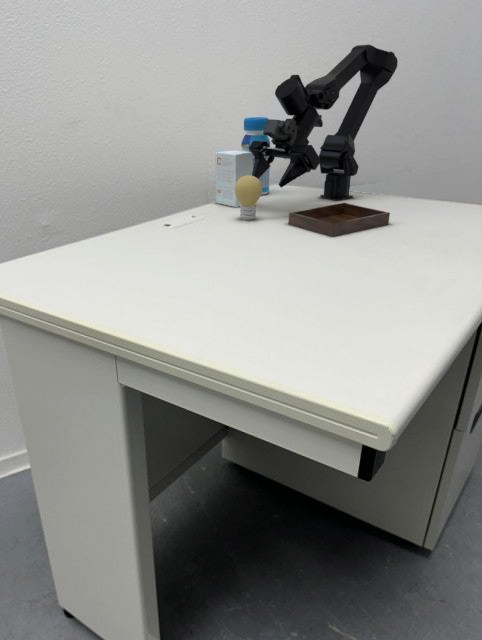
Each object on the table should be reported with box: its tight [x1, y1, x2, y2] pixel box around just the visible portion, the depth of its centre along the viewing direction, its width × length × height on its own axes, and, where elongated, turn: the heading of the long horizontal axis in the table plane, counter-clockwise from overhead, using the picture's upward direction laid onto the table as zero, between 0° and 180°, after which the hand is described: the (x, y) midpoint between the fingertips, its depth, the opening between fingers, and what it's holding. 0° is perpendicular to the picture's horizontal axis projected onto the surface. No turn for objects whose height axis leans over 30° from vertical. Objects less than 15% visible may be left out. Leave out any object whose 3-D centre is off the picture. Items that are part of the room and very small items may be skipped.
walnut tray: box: [287, 202, 391, 238], centre depth 123 cm, size 17×14×3 cm
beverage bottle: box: [240, 116, 271, 196], centre depth 154 cm, size 8×8×20 cm
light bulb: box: [235, 175, 262, 221], centre depth 129 cm, size 6×6×10 cm
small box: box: [215, 149, 253, 208], centre depth 144 cm, size 8×6×13 cm
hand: (265, 183), depth 131 cm, fingers open, 9 cm apart
